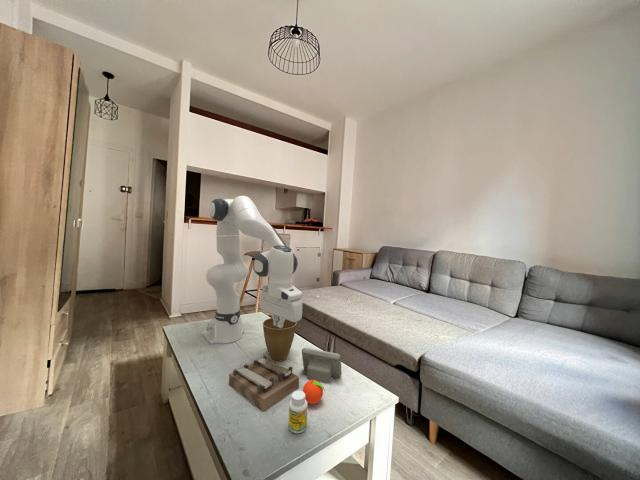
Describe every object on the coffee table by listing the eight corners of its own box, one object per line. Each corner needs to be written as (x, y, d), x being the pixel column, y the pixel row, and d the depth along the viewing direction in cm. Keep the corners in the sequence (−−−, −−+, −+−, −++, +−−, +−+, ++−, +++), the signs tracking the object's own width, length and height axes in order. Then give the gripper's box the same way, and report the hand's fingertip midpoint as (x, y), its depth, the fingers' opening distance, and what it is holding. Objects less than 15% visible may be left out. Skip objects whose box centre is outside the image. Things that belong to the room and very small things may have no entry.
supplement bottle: (308, 421, 74) (309, 390, 73) (304, 435, 68) (305, 402, 68) (291, 418, 75) (292, 387, 74) (286, 432, 69) (287, 399, 69)
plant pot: (298, 364, 104) (299, 327, 103) (262, 368, 100) (263, 330, 99) (292, 347, 118) (293, 315, 118) (261, 350, 114) (262, 317, 114)
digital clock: (343, 376, 97) (344, 350, 96) (333, 389, 89) (335, 361, 88) (308, 364, 105) (309, 340, 104) (296, 375, 97) (298, 349, 96)
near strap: (236, 372, 89) (236, 370, 89) (243, 369, 92) (243, 366, 92) (264, 389, 79) (264, 386, 79) (272, 384, 82) (272, 382, 82)
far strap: (256, 362, 96) (256, 360, 96) (262, 359, 99) (262, 357, 99) (285, 376, 86) (285, 374, 86) (291, 372, 89) (291, 370, 89)
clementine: (328, 398, 84) (329, 378, 83) (321, 412, 77) (322, 391, 77) (307, 392, 87) (308, 372, 86) (298, 405, 80) (299, 384, 80)
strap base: (228, 384, 89) (229, 366, 89) (264, 366, 102) (264, 350, 101) (263, 411, 77) (264, 391, 76) (298, 387, 89) (299, 369, 89)
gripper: (255, 285, 94) (254, 320, 95) (293, 297, 81) (291, 338, 82) (268, 283, 99) (267, 316, 99) (306, 294, 86) (303, 332, 87)
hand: (278, 326), depth 90 cm, fingers closed
